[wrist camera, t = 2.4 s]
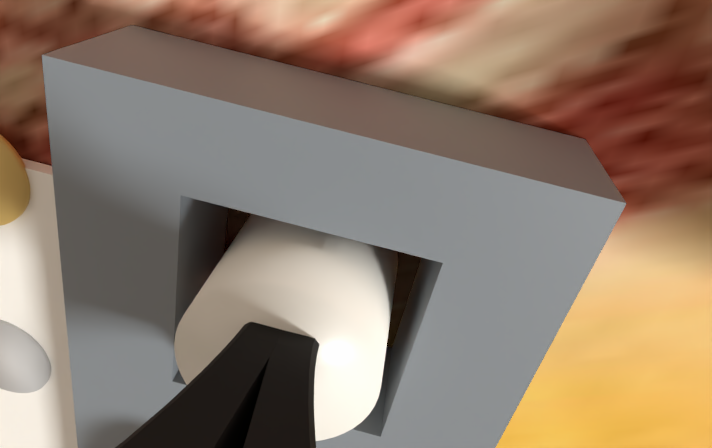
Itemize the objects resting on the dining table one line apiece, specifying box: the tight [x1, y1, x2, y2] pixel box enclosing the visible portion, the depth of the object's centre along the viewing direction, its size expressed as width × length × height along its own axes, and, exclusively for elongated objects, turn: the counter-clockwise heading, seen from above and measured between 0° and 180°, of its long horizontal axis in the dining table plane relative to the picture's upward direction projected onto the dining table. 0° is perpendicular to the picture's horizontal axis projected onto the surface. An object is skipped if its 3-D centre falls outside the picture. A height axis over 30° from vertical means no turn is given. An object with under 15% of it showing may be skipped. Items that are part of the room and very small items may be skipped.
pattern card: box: [0, 134, 78, 448], centre depth 17 cm, size 16×5×1 cm, turn 168°
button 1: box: [174, 214, 398, 441], centre depth 12 cm, size 4×4×4 cm
